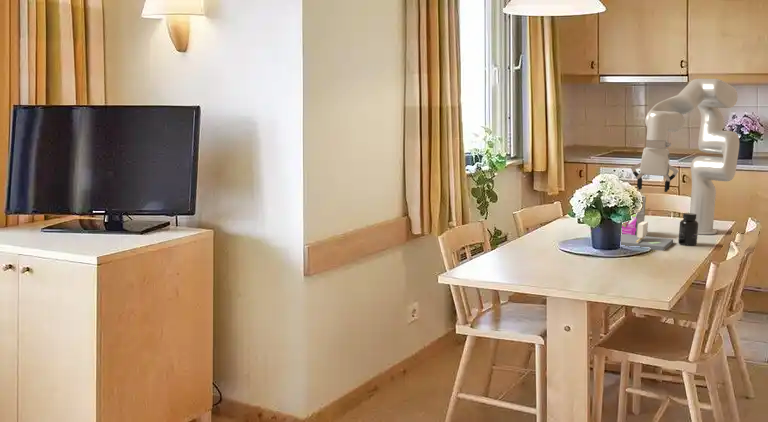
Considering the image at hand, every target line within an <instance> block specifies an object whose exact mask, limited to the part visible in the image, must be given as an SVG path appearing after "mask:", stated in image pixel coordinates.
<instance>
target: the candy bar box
mask: <svg viewBox="0 0 768 422" xmlns="http://www.w3.org/2000/svg"><path fill="white" fill-rule="evenodd" d="M641 196H642V201H643V208H642V210H641V211H640V212H638V213H636V214H634V215H632V220H631V221H628V222H625V223H623V224H622V234H630V235H637V231H638V224H639V223H641V222H643V221H644V222H645V218H646V217H645V215H646V214H645V213H646V203H647V202H646V201H647V196H645V195H641Z"/></svg>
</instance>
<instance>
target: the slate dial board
mask: <svg viewBox="0 0 768 422" xmlns="http://www.w3.org/2000/svg"><path fill="white" fill-rule="evenodd" d="M638 239H639V237H637V235H630V234H622V235H621V245H625V246H624V247H626V246H640V247H650V248H651V249H650V250H654V251H665V250H667V249H668V247H670V246H671V245H673V244H674V239H673V238H666V237H658V236H657V237H656V236H647V235H646V236H645V239H642V240H640V241H639V242H636V241H637V240H638Z"/></svg>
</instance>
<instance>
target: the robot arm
mask: <svg viewBox="0 0 768 422" xmlns="http://www.w3.org/2000/svg"><path fill="white" fill-rule="evenodd" d="M738 97H739V96H738V92H737V90H736V88H735V87H733V86H732V85H731V84H729V83H727V82H726V81H723V80H722V79H718V78H694V79H692V80H691V81H690V82H688V83H687V84H686V86H685V87H683V89H682V90H680V92H678V94H676V95H674V96H671V97H668V98H666V99H664V100H661V101H659V102H657V103H656V104H654V106H652V107H651V109H649V110H648V112H647V114H646V116H645V121H644V122H645V127H646V142H645V147H644V148H643V151H642V155H641V161H640V163H637V164H635V165H632V166H630V170H631V172H632V175H633V176H634V177H636V179H637V181H636V187H637V190H639V191H640V190H642V188H643V179H642V178H643V177H644V176H645V175H646V176H657V177H658V176H659V177H660V176H661V177H664V179H665V181H664V193H667V192H668V191H669V190H670V187H671V186H670V185H671V181H672V180H673V179H674V178H676V177H677V174H679V169H677V168H676V167H674V166H672V165H671V164H670V149H669V147H672V143H671V142H669V141H668V137H669V134H668V133H669V132H670V133H671V132H672V133H673V132H674V133H675V132H679V131H681V130H682V129H683V128H684V126H685V121H686V120H685V117H684V115H687V114H689V113H693V112H694V110H695V109H696V108H697V109H698V111H699V114H700V127H699V134H698V141H697V143H698V144H697V145H698V150H699V151H701V152H702V153H706V154H715V155H716V154H718V155H722V157H719V156H718V157H717V156H708V155H698V156H696V157H694V159H692V160H691V163H690V174H691V190H690V191H691V193H690V205H689V206H690V207H689V208H690V209H689V213H694V214H696V221H697V222H698V235H708V236H709V235H716V234H717V231H718V230H716V228H714V221H715V220H714V219H715V206H716V197H717V189H716V187H715V185H714V183H713V181H716V182H717V181H718V182H731V181H732V180H733V179H734V177H735V175H736V170H737V166H738V158H739V151H740V138H739V135H738V134H737V132H734V131H731V130H723V125H724V116H723V114H722V112H721V110H720V109H731V108H733V107H734V106H735V105H736V104H737V101H738ZM638 168H639V170H640V171H639V172H640V173H639V172H638V171H637V169H638ZM670 171H672V174H671V175H669V173H670Z"/></svg>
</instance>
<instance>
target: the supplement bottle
mask: <svg viewBox="0 0 768 422" xmlns="http://www.w3.org/2000/svg"><path fill="white" fill-rule="evenodd" d="M682 215H683V216H682V218H683V219H681V220H680V221H679V229H678V230H679V231H678V244H679V245H682V246H690V247H692V246H697V244H698V235H699V234H698V222H697V221H696V214H694V213H690V212H684V213H683V214H682Z"/></svg>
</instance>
